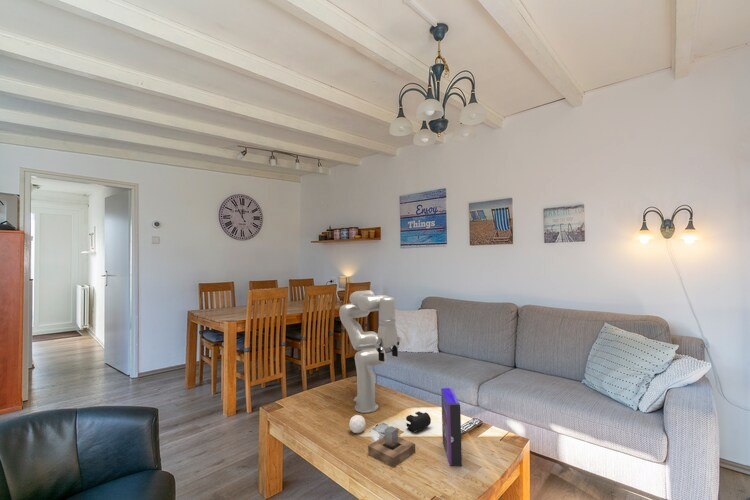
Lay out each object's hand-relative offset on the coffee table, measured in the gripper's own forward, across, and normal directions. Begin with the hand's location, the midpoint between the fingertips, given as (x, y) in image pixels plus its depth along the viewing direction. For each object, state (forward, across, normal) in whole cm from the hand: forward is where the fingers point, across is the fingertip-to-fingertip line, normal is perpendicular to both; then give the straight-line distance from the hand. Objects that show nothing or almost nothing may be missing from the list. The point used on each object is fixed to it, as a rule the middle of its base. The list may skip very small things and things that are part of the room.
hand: (388, 358), depth 173 cm
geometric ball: (+34, +13, -9) cm, 37 cm away
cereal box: (+34, 0, +34) cm, 48 cm away
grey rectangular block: (+33, +16, +15) cm, 40 cm away
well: (+33, +16, +15) cm, 40 cm away
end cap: (+34, -8, +11) cm, 36 cm away
